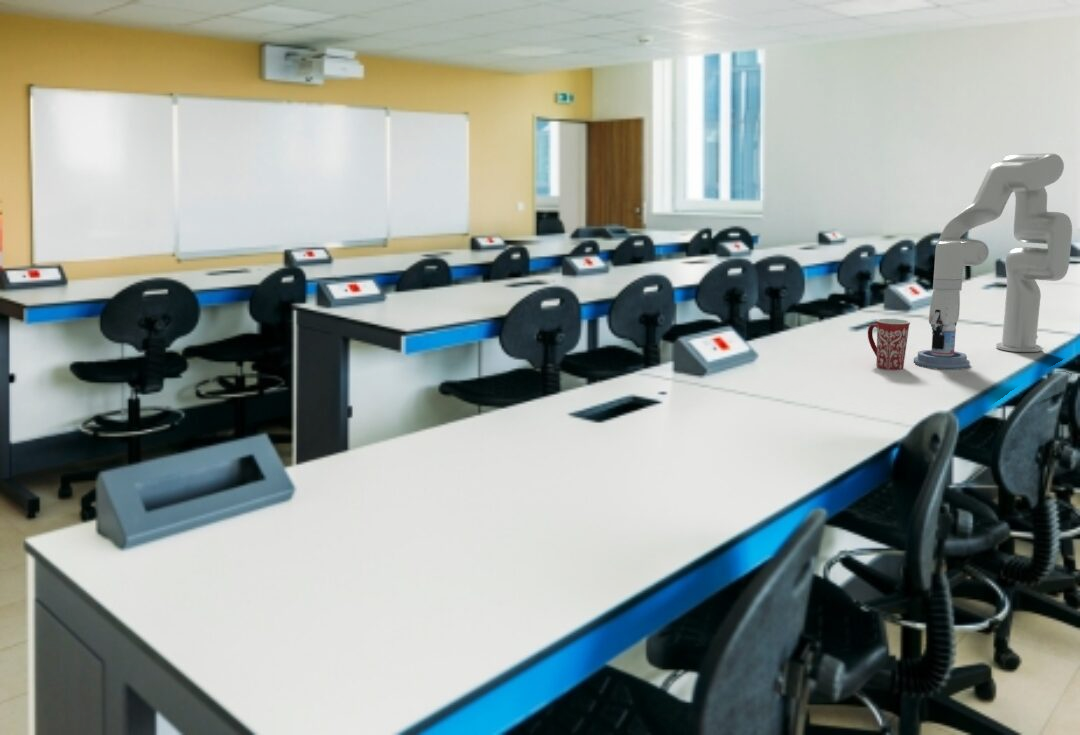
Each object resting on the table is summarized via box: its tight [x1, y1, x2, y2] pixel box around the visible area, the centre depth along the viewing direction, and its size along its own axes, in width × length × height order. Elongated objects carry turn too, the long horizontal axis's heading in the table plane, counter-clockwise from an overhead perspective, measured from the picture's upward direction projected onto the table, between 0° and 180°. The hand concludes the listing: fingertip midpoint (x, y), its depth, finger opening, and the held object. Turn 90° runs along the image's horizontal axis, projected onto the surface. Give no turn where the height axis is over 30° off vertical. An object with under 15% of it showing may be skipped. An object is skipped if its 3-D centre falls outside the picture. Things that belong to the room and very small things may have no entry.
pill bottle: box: [930, 318, 957, 357], centre depth 272 cm, size 6×6×11 cm
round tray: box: [913, 349, 971, 370], centre depth 273 cm, size 15×15×3 cm
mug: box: [867, 318, 911, 371], centre depth 270 cm, size 13×9×14 cm
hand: (942, 346), depth 272 cm, fingers closed on pill bottle, 6 cm apart
